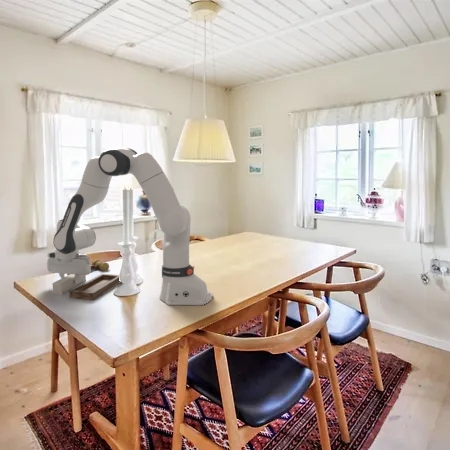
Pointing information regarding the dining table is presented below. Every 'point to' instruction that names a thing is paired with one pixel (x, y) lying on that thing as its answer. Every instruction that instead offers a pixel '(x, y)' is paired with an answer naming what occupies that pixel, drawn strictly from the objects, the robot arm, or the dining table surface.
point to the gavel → (98, 265)
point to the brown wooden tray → (95, 287)
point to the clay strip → (67, 283)
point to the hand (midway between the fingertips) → (70, 282)
